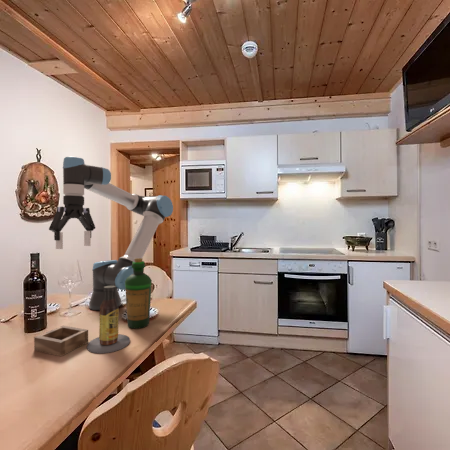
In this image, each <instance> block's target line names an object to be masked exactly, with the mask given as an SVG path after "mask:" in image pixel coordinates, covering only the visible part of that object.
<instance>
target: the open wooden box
mask: <svg viewBox="0 0 450 450" xmlns="http://www.w3.org/2000/svg"><path fill="white" fill-rule="evenodd" d="M33 343H34V347H33V348H34V351H36V352H40V353H43V354H48V355H53V356H57V357H62V356H65V355H66V354H69V353H71V352H72V351H74V350H76V349H78V348H80V347H82V346H84V345H87V344H88V343H89V329H85V328H79V327H73V326H70V325H69V326H68V325H61V326H59V327H56V328H53V329H51V330H48V331H46V332H43V333H40V334H39V335H36V336H34V337H33Z"/></svg>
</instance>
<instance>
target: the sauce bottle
mask: <svg viewBox="0 0 450 450" xmlns="http://www.w3.org/2000/svg"><path fill="white" fill-rule="evenodd" d="M115 290H116V286H105V287H104V301H103V302H102V304H101V306H100V310H99V326H98V327H99V332H98V333H99V334H98V335H99V336H98V337H99V339H100V344H101V345H106V346H107V345H111V344H114V343H116V342H117V340H118V334H119V322H120V321H119V317H120V316H119V313H120V311H119V309H120V308H119V307H118V305H117V302H116V299H115Z"/></svg>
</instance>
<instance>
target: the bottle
mask: <svg viewBox="0 0 450 450" xmlns="http://www.w3.org/2000/svg"><path fill="white" fill-rule="evenodd" d="M134 260H135V261H134V262H133V263H132V268H133V274H132V275H130V276H129V277H127V279H126V281H125V290H124V291H125V302H126V319H127V327H128V328H129V329H135V330H136V329H143V328H145V327H147V326H148V325H150V316H151V315H150V314H151V299H152V297H151V296H152V295H151V294H152V283H153V282H152V278H151V277H150V275H148V274H147V273H144V270H145V268H146V263H145V261H144V260H143V258H135V259H134Z"/></svg>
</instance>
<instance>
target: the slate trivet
mask: <svg viewBox="0 0 450 450" xmlns="http://www.w3.org/2000/svg"><path fill="white" fill-rule="evenodd" d="M130 339H131V338H130V336H127V335H125V334H120V333H118V340H117V342H116V343H114V344H111V345H107V346H106V345H101V344H100V339H99V336H98V337H95V338H93V339H92V340H90V341H88V343H87V344H86V349H87V351H89V352H90V353H93V354H110V353H114V352H118V351H120V350H122V349H124V348H126V347H128V346H129V344H130V343H131V340H130Z"/></svg>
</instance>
